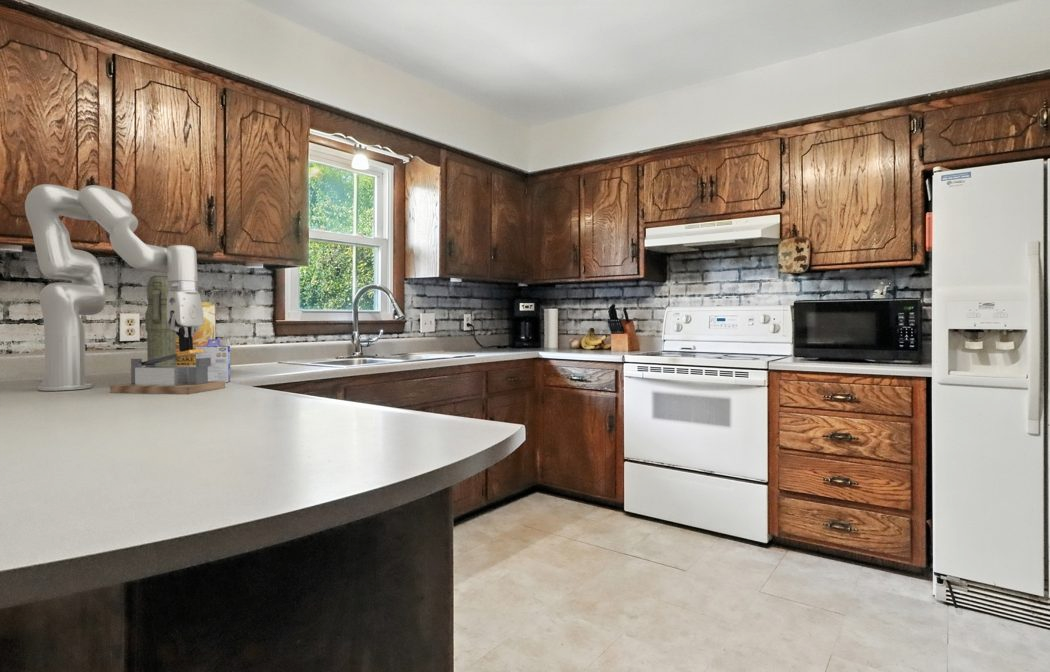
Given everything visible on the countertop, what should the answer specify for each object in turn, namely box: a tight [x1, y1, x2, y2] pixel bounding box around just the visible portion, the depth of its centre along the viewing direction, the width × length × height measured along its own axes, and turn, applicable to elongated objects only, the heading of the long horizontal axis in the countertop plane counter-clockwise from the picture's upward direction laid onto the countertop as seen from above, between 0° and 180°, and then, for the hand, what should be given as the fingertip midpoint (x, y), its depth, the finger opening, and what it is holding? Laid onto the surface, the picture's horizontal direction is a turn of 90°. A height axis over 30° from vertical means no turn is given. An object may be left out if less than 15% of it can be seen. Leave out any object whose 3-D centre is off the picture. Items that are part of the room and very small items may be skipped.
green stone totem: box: [144, 275, 177, 367], centre depth 192 cm, size 9×12×35 cm
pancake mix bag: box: [176, 300, 217, 365], centre depth 206 cm, size 7×19×28 cm, turn 118°
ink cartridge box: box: [196, 338, 232, 383], centre depth 196 cm, size 10×6×14 cm, turn 110°
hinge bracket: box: [130, 357, 158, 384], centre depth 173 cm, size 2×7×7 cm, turn 173°
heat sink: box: [135, 365, 196, 386], centre depth 172 cm, size 12×12×5 cm
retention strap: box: [142, 349, 204, 367], centre depth 172 cm, size 18×6×1 cm, turn 83°
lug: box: [188, 358, 211, 385], centre depth 171 cm, size 3×5×8 cm
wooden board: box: [109, 381, 226, 395], centre depth 172 cm, size 24×16×2 cm, turn 83°
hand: (186, 351), depth 171 cm, fingers closed
